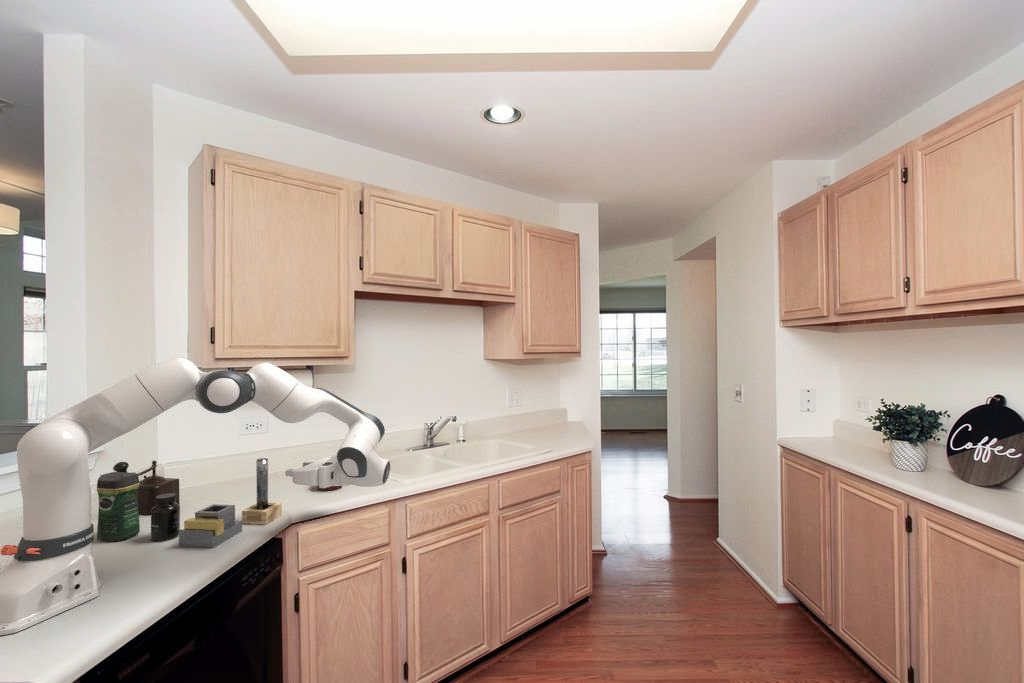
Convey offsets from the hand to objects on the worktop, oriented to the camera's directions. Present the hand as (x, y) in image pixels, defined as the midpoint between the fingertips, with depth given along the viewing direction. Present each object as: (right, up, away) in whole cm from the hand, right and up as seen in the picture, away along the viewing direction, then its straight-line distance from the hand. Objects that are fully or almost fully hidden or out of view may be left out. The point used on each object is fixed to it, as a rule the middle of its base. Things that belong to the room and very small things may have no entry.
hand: (295, 468), depth 151 cm
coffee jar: (-46, -17, -10) cm, 51 cm away
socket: (-18, -17, -12) cm, 28 cm away
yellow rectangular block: (-18, -14, -16) cm, 28 cm away
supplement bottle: (-32, -17, -11) cm, 38 cm away
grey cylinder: (-12, -16, +3) cm, 20 cm away
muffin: (-3, -17, +36) cm, 40 cm away
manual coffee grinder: (-54, -17, +10) cm, 57 cm away
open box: (-12, -17, +3) cm, 21 cm away
